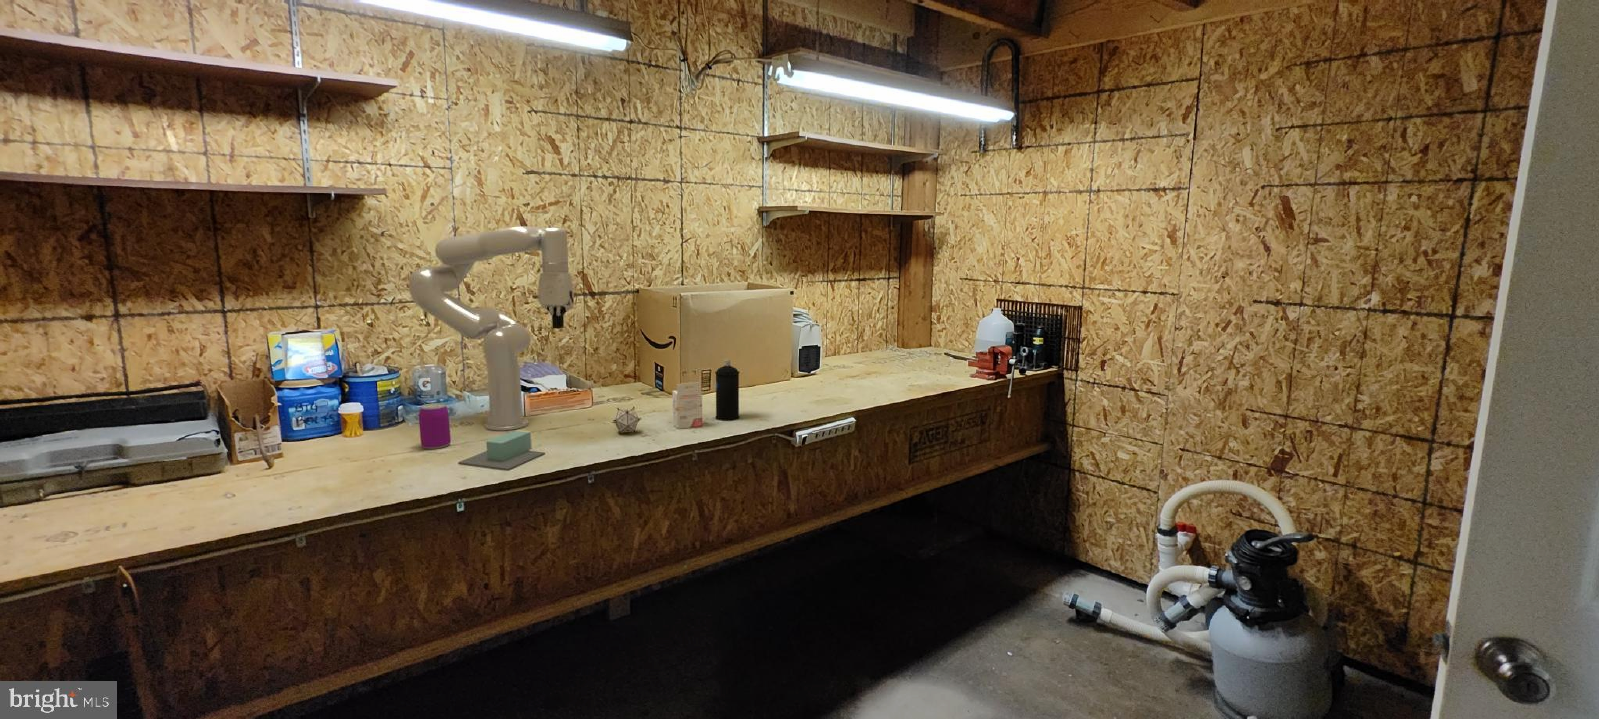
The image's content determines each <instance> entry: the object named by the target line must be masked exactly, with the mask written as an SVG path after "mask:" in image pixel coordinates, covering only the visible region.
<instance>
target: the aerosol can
mask: <svg viewBox="0 0 1599 719" xmlns="http://www.w3.org/2000/svg"><path fill="white" fill-rule="evenodd" d="M723 360H724V364H723V366H721V367H719V368H718V369H717V370H716V371H715V373H714V374H715V419H716V420H718V421H724V422H726V421H727V422H729V421H731V422H732V421H736V420H739V419H740V415H739V414H740V413H739V412H740V401H739V399H740V398H739V395H740V377H739V376H740V371H739V370H738V369H737V368H736V367H734V366H731V359H723Z"/></svg>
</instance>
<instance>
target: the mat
mask: <svg viewBox="0 0 1599 719" xmlns="http://www.w3.org/2000/svg"><path fill="white" fill-rule="evenodd" d="M545 454H546V452H543V451H537V450H528V451H526V452H523V453H521V454H519V455H516V456H514V457H512V458H509V459H507V460H505V461H497V460H489V459H487V450H486V451H483V452H480V453H477V454H475V455H473V456H471V457H468V458H465V459H462V460H460V461H458V462H457V463H458V464H459V465H462V466H463V465H464V466H473V467H479V468H484V469H485V468H487V469H495V470H499V471H502V470H503V471H510V470H513V469H515V468H517V467H520V466H522V465H524V464H526V463H528V462H530V461H533V460H535V459H537V458H540V457H542V456H543V455H545Z"/></svg>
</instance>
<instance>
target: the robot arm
mask: <svg viewBox="0 0 1599 719" xmlns="http://www.w3.org/2000/svg"><path fill="white" fill-rule="evenodd" d="M568 246H569V245H568V232H567V230H566V228H563V227H538V226H524V225H523V226H521V225H519V226H511V227H506V228H500V229H494V230H489V231H481V232H476V233H470V234H468V233H467V234H462V235H457V236H450V237H446V238H443V239H441V240H440V241H438V243H436V245H435V249H434V253H435V256H436V258H437V259H438V260H439V261H440V262H441V265H436V266H435V265H433V266H425V267H424V266H423V267H421V268H419V269H418V268H417V269H416V270H414V271H413V272H412V273H411V274H410V276H409V278H408V283H407V284H408V291H409V294H410V296H411V298H412V300H413V302H414V303H415V304H416V305H417V306H418V307H419V308H420V309H421V310H422V311H424V312H425V313H427V314H429V315H430V316H433V317H434V318H436V319H437V320H438V321H440V322H442V323H443V324H444V325H446V326H448V327H449V328H451V329H453V330H454V331H456V332H457V333H459V334H460V335H462V336H464V337H465V338H468V339H470V340H478V339H482V338H483V340H482V350H483V355H484V358H485V364H486V371H487V372H486V373H487V382H488V383H487V384H488V385H487V387H488V401H489V402H488V403H489V410H484V411H483V413H482V414H481V418H482V419H487V422H485V425H484V426H485V428H486V429H487V430H491V431H511V430H518V429H522V428H524V427H527V425H529V424H528V423H529V421H528V419H527V418H524V417H523V403H522V384H521V372H520V371H521V370H520V364H519V362H518V358H517V355H518V354H521V353H523V352H525V351H526V350H527V349H528V348H529V347H530V345H531V341H532V340H531V335H530V333H529V331H528V330H527V328H526V327H524V325H522V324H520V323H518V322H517V321H516V320H514V319H512V318H511V317H509V316H508V315H506V314H504V313H503V312H502V311H500V310H498V309H496V308H493V307H489V306H482V307H472V306H470V305H468V304H467V303H464V302H463V301H462V300H460V299H458V298H457V297H455V296H453V295H450V294H447V293H449V292H452V291H454V290H456V289H457V288H458V287H459V286H460V285H461V283H462V282H463V281H464V279H465V278H466V277H467V275H468V274H469V272H470V270H472V268H473V267H474V265H475V264H476V262H477V263H478V262H483V261H490V260H493V259H494V258H495V257H497V256H502V255H503V256H504V255H510V254H516V253H528V252H529V253H531V252H541V264H540V265H539V268H540V269H542V272H540V273H539V279H538V293H537V296H538V303H539V305H540V306H541V309H544V310H547V311H548V312H549V315H550V316H551V322H552V323H551V325H552V329H555V330H556V329H563V328H564V325H565V323H564V319H565V318H564V316H565V315H566V313H567V312H568V311H571V310H573V309H574V306H573V305H574V302H575V295H574V284H573V279H572V275H571V272H569V252H568V251H569V250H568Z"/></svg>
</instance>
